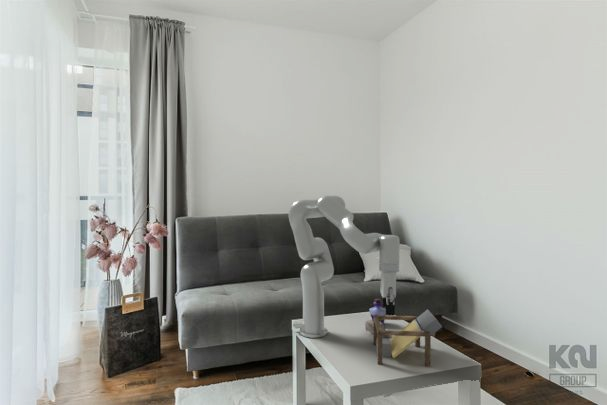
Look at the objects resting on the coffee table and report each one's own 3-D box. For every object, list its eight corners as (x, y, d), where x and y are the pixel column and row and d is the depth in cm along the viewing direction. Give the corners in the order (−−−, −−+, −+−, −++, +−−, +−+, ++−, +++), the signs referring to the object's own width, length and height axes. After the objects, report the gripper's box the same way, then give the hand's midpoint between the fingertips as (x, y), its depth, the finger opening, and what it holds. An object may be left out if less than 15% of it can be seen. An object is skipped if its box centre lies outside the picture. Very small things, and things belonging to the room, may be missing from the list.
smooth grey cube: (390, 356, 139) (377, 356, 139) (389, 351, 144) (376, 350, 144) (390, 343, 138) (377, 343, 139) (389, 338, 143) (376, 338, 144)
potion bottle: (375, 328, 168) (374, 302, 168) (365, 322, 176) (365, 297, 176) (390, 325, 171) (390, 300, 171) (380, 320, 179) (380, 295, 179)
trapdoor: (398, 363, 134) (392, 356, 134) (393, 347, 148) (387, 341, 148) (443, 327, 132) (436, 320, 132) (433, 315, 146) (427, 308, 146)
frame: (377, 364, 132) (377, 331, 132) (373, 343, 151) (373, 315, 150) (430, 366, 130) (430, 333, 130) (419, 345, 149) (419, 316, 149)
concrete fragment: (378, 328, 169) (378, 315, 169) (390, 339, 156) (390, 325, 155) (363, 328, 168) (363, 315, 168) (374, 340, 154) (374, 326, 154)
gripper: (377, 262, 149) (376, 303, 150) (381, 271, 132) (381, 318, 133) (395, 263, 149) (394, 304, 149) (402, 272, 131) (401, 319, 132)
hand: (388, 310), depth 141 cm, fingers open, 9 cm apart
